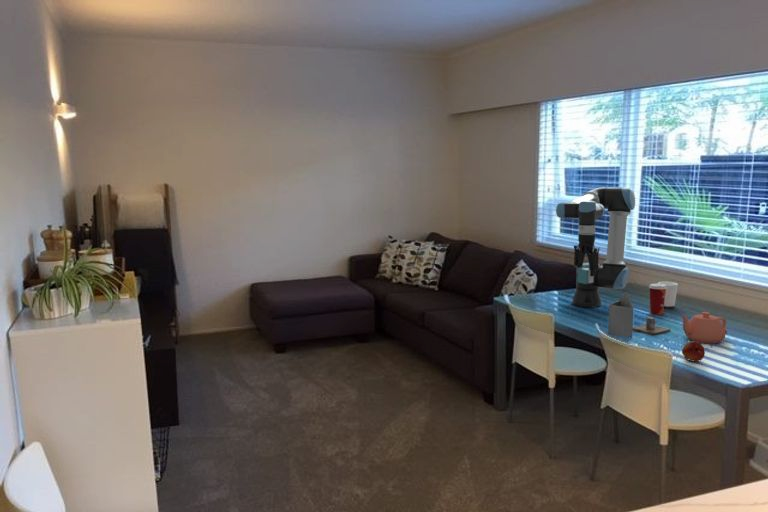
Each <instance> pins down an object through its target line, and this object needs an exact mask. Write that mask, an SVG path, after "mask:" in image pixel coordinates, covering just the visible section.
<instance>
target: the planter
mask: <svg viewBox="0 0 768 512" xmlns="http://www.w3.org/2000/svg"><path fill="white" fill-rule="evenodd" d="M608 308H609V309H608V332H609V333H608V334H610V333H612V334H611V335H614V334H615V335H614V336H619V337H624V338H629V337H630V338H631V339H632V338H633V333H634V332H633V331H634V330H633V327H634V306H633V303H632V300H631V299H630V295H629V293H628V291H626V292H625V293H624V294H623V295H622V297H621V298H620V299H618V300H617V301H615V302H611V303H610V304H609V306H608Z"/></svg>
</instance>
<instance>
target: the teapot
mask: <svg viewBox="0 0 768 512" xmlns="http://www.w3.org/2000/svg"><path fill="white" fill-rule="evenodd" d="M680 316H681V318H682V320H683V322H682V330H683V332H684V335H685V336H686V338H688V339H689V341H691V342H693V341H695V342H698V343H700V344H719V343H721V342H722V341H724V340H725V338H726V335H727V333H728V330H727V329H725V328H726V325H727V320H726V318H724V317H723V316H715V315H711V313H710V312H708V311H702V312H701V314H695V315H693V316H692V317H691V319H690V320H689V319H688V317H687V315H683V314H680ZM721 320H722V322H721Z"/></svg>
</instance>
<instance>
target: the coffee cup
mask: <svg viewBox="0 0 768 512" xmlns="http://www.w3.org/2000/svg"><path fill="white" fill-rule="evenodd" d="M666 289H667V287H666V285H664V284H658V283H651V284H649V312H650V314H651V315H655V316H657V315H658V316H661V315H664V308H665V306H664V302H665V293H666Z"/></svg>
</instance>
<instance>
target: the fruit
mask: <svg viewBox="0 0 768 512" xmlns="http://www.w3.org/2000/svg"><path fill="white" fill-rule="evenodd" d="M705 351H706V350H705V348H704V346H703V343H699V342H695V341H689V342H687V343H686V344H685V345H684V346H683V347H682V349H681V353H682V355H683V357H684V358H685V360H687V359H690V360H694V361H693V362H700V361H701V360H703V359H704V358H705V356H706V355H705V354H706V352H705ZM699 360H700V361H699Z"/></svg>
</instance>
